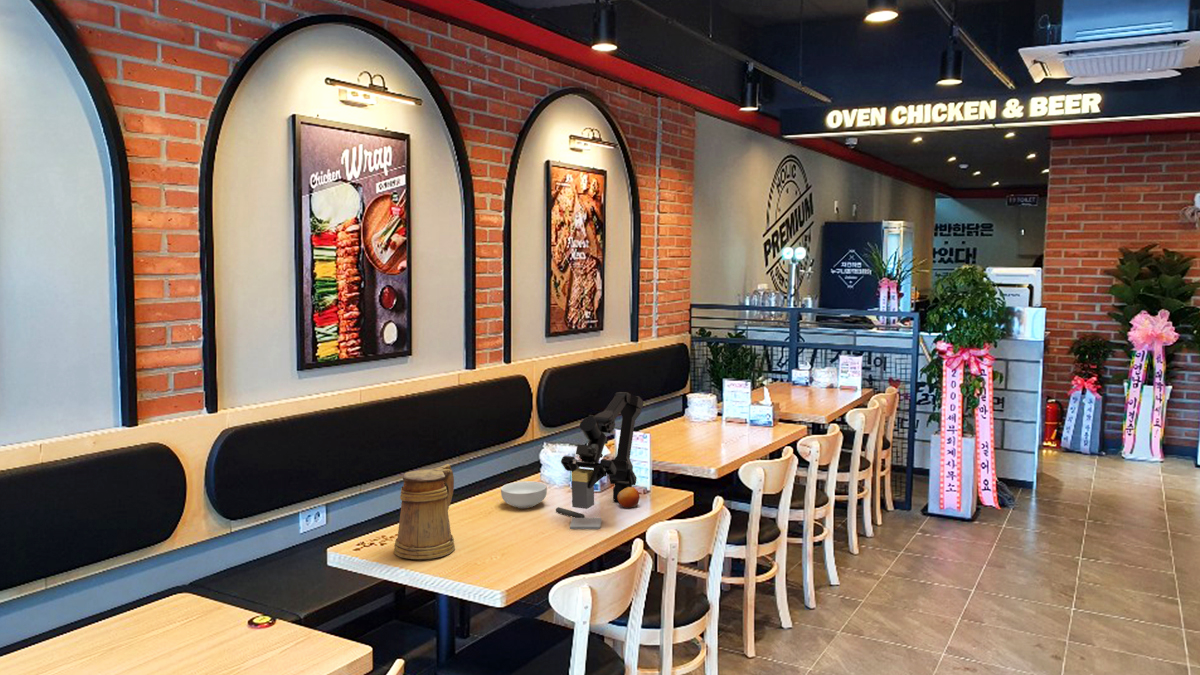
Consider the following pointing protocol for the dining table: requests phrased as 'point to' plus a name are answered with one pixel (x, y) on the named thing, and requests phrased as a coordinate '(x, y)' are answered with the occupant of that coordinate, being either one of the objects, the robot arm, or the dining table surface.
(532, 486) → the cereal bowl
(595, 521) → the coaster
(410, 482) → the tankard
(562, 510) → the dark notched bar
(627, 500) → the fruit
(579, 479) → the block
